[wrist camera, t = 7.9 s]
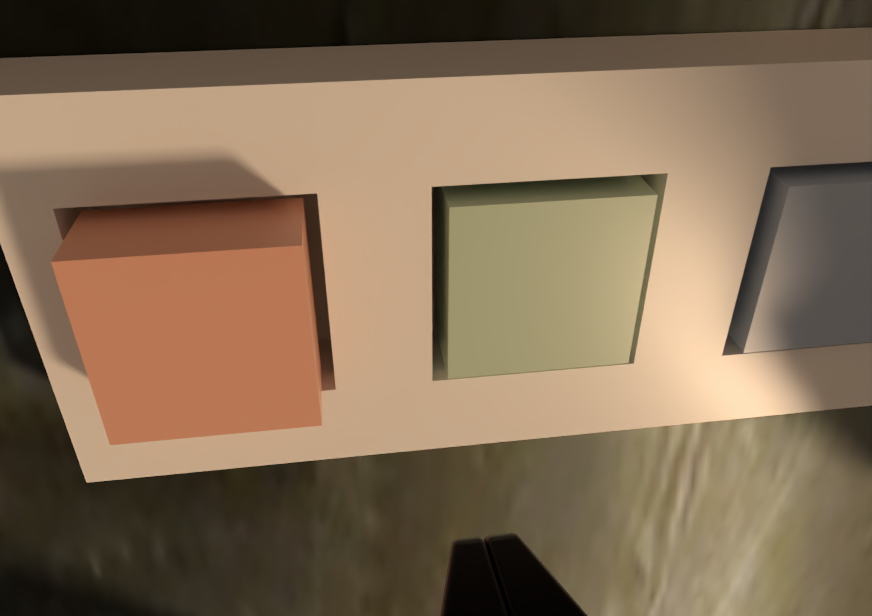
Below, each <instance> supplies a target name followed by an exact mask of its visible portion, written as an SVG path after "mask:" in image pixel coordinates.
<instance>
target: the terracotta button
mask: <svg viewBox="0 0 872 616" xmlns="http://www.w3.org/2000/svg"><path fill="white" fill-rule="evenodd" d="M51 264H52V268H53V271H54V274H55V277H56V280H57V283H58V286H59V289H60V292H61V295H62V298H63V301H64V305H65V308H66V311H67V314H68V317H69V320H70V323H71V326H72V329H73V332H74V335H75V339H76V342H77V345H78V348H79V351H80V354H81V357H82V360H83V363H84V366H85V369H86V372H87V376H88V379H89V382H90V385H91V388H92V391H93V394H94V397H95V400H96V403H97V406H98V409H99V413H100V416H101V419H102V422H103V425H104V428H105V431H106V434H107V437H108V440H109V443H110V445H118V444H129V443H139V442H150V441H161V440H172V439H182V438H193V437H204V436H215V435H225V434H236V433H247V432H258V431H268V430H279V429H290V428H301V427H311V426H322V393H321V361H320V352H319V343H318V333H317V324H316V314H315V305H314V296H313V286H312V277H311V268H310V258H309V249H308V240H307V230H306V221H305V212H304V202H303V198H293V199H276V200H259V201H241V202H224V203H207V204H190V205H173V206H155V207H138V208H121V209H104V210H87V211H81V212H80V214H79V215H78V217H77V219H76V220H75V222H74V224H73V225H72V227H71V229H70V230H69V232H68V234H67V235H66V237H65V239H64V240H63V242H62V244H61V245H60V247H59V249H58V250H57V252H56V254H55V255H54V257H53V259H52V261H51Z"/></svg>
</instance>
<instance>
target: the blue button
mask: <svg viewBox="0 0 872 616" xmlns="http://www.w3.org/2000/svg"><path fill="white" fill-rule="evenodd" d="M728 335H729V336H730V337H731V338H732V340H733V341H734V342H735V343H736V345H737V346H738V347H739V348H740V350H741V351H742V352H743V353H750V352H761V351H772V350H784V349H795V348H807V347H818V346H830V345H841V344H852V343H864V342H872V162H855V163H837V164H820V165H803V166H785V167H771V168H770V172H769V176H768V180H767V184H766V188H765V191H764V195H763V199H762V203H761V207H760V211H759V215H758V218H757V222H756V226H755V230H754V234H753V238H752V242H751V245H750V249H749V253H748V257H747V261H746V265H745V269H744V273H743V276H742V280H741V284H740V288H739V292H738V296H737V300H736V303H735V307H734V311H733V315H732V319H731V323H730V327H729V330H728Z"/></svg>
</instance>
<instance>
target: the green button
mask: <svg viewBox="0 0 872 616" xmlns="http://www.w3.org/2000/svg"><path fill="white" fill-rule="evenodd" d="M657 197H658V194H657V193H656V192H655V191H654V190H653V189H652V188H651V187H650V186H649V185H648V184H647V183H646V182H645V180H644V179H643V178H642V177H641V176H640V175H629V176H612V177H594V178H577V179H560V180H542V181H525V182H508V183H490V184H473V185H456V186H438V187H435V303H436V332H437V337H438V341H439V345H440V349H441V353H442V357H443V361H444V365H445V369H446V374H447V378H448V379H453V378H464V377H475V376H487V375H498V374H510V373H521V372H532V371H544V370H555V369H567V368H578V367H590V366H601V365H612V364H624V363H629V357H630V351H631V346H632V340H633V334H634V328H635V323H636V317H637V311H638V306H639V300H640V294H641V288H642V283H643V277H644V271H645V266H646V260H647V254H648V248H649V243H650V237H651V231H652V226H653V220H654V214H655V208H656V203H657Z"/></svg>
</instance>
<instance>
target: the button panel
mask: <svg viewBox="0 0 872 616" xmlns="http://www.w3.org/2000/svg"><path fill="white" fill-rule="evenodd" d="M855 162H872V27H867V28H839V29H810V30H782V31H754V32H725V33H697V34H669V35H640V36H612V37H584V38H556V39H527V40H499V41H471V42H442V43H414V44H386V45H357V46H329V47H301V48H273V49H244V50H216V51H188V52H159V53H131V54H103V55H74V56H46V57H18V58H0V244H1V247H2V250H3V252H4V255H5V258H6V261H7V263H8V266H9V269H10V272H11V274H12V277H13V280H14V283H15V286H16V288H17V291H18V294H19V297H20V299H21V302H22V305H23V308H24V311H25V313H26V316H27V319H28V322H29V324H30V327H31V330H32V333H33V335H34V338H35V341H36V344H37V347H38V349H39V352H40V355H41V358H42V360H43V363H44V366H45V369H46V372H47V374H48V377H49V380H50V383H51V385H52V388H53V391H54V394H55V396H56V399H57V402H58V405H59V408H60V410H61V413H62V416H63V419H64V421H65V424H66V427H67V430H68V433H69V435H70V438H71V441H72V444H73V446H74V449H75V452H76V455H77V457H78V460H79V463H80V466H81V469H82V471H83V474H84V477H85V480H86V482H87V483H88V482H98V481H108V480H119V479H129V478H139V477H149V476H159V475H170V474H180V473H190V472H200V471H210V470H220V469H231V468H241V467H251V466H261V465H271V464H282V463H292V462H302V461H312V460H322V459H332V458H343V457H353V456H363V455H373V454H383V453H394V452H404V451H414V450H424V449H434V448H445V447H455V446H465V445H475V444H485V443H495V442H506V441H516V440H526V439H536V438H546V437H557V436H567V435H577V434H587V433H597V432H607V431H618V430H628V429H638V428H648V427H658V426H669V425H679V424H689V423H699V422H709V421H719V420H730V419H740V418H750V417H760V416H770V415H781V414H791V413H801V412H811V411H821V410H831V409H842V408H852V407H862V406H872V342H864V343H852V344H841V345H830V346H818V347H807V348H795V349H784V350H772V351H761V352H750V353H743V352H742V351H741V350H740V348H739V347H738V346H737V345H736V343H735V342H734V341H733V340H732V338H731V337H730V336H729V335H728V330H729V327H730V323H731V319H732V315H733V311H734V307H735V303H736V300H737V296H738V292H739V288H740V284H741V280H742V276H743V273H744V269H745V265H746V261H747V257H748V253H749V249H750V245H751V242H752V238H753V234H754V230H755V226H756V222H757V218H758V215H759V211H760V207H761V203H762V199H763V195H764V191H765V188H766V184H767V180H768V176H769V172H770V168H771V167H785V166H803V165H820V164H837V163H855ZM629 175H640V176H641V177H642V178H643V179H644V180H645V182H646V183H647V184H648V185H649V186H650V187H651V188H652V189H653V190H654V191H655V192H656V193H657V194H658V197H657V203H656V208H655V214H654V220H653V226H652V231H651V237H650V243H649V248H648V254H647V260H646V266H645V271H644V277H643V283H642V288H641V294H640V300H639V306H638V311H637V317H636V323H635V328H634V334H633V340H632V346H631V351H630V357H629V363H624V364H612V365H601V366H590V367H578V368H567V369H555V370H544V371H532V372H521V373H510V374H498V375H487V376H475V377H464V378H453V379H448V378H447V374H446V369H445V365H444V361H443V357H442V353H441V349H440V345H439V341H438V337H437V332H436V303H435V187H438V186H456V185H473V184H490V183H508V182H525V181H542V180H560V179H577V178H594V177H612V176H629ZM293 198H303V202H304V212H305V221H306V230H307V240H308V249H309V258H310V268H311V277H312V286H313V296H314V305H315V314H316V324H317V333H318V343H319V352H320V361H321V393H322V426H311V427H301V428H290V429H279V430H268V431H258V432H247V433H236V434H225V435H215V436H204V437H193V438H182V439H172V440H161V441H150V442H139V443H129V444H118V445H110V443H109V440H108V437H107V434H106V431H105V428H104V425H103V422H102V419H101V416H100V413H99V409H98V406H97V403H96V400H95V397H94V394H93V391H92V388H91V385H90V382H89V379H88V376H87V372H86V369H85V366H84V363H83V360H82V357H81V354H80V351H79V348H78V345H77V342H76V339H75V335H74V332H73V329H72V326H71V323H70V320H69V317H68V314H67V311H66V308H65V305H64V301H63V298H62V295H61V292H60V289H59V286H58V283H57V280H56V277H55V274H54V271H53V268H52V264H51V261H52V259H53V257H54V255H55V254H56V252H57V250H58V249H59V247H60V245H61V244H62V242H63V240H64V239H65V237H66V235H67V234H68V232H69V230H70V229H71V227H72V225H73V224H74V222H75V220H76V219H77V217H78V215H79V214H80V212H81V211H87V210H104V209H121V208H138V207H155V206H173V205H190V204H207V203H224V202H241V201H259V200H276V199H293Z"/></svg>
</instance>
